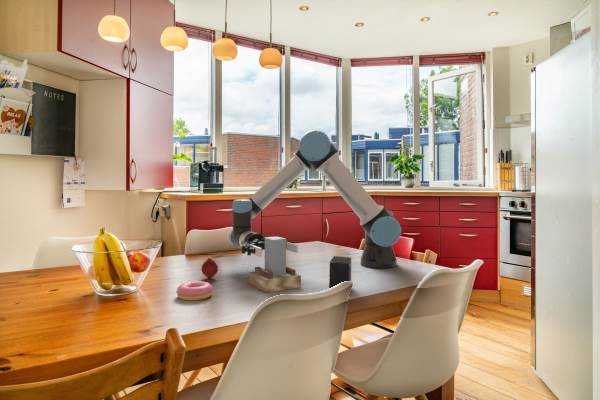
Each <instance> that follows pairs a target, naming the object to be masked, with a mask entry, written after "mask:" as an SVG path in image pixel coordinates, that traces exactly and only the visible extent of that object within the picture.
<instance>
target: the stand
mask: <svg viewBox="0 0 600 400" xmlns="http://www.w3.org/2000/svg"><path fill="white" fill-rule="evenodd" d="M296 271H297V270H296V269H294V268H292V267H288V266H286V274H282V275H275V276H273V273H272V272H270V271H267V270H265V268H262V267H260V266H254V271H250V272H249V277H248V278H249V280H248V281H249V285H251V286H253V287H255V288H257V289H259V290H260V291H263V292H264V293H273V292H279V291H285V290H292V289H298V288H301V287H302V275H301V274H298V273H297V272H296Z"/></svg>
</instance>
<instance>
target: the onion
mask: <svg viewBox="0 0 600 400" xmlns="http://www.w3.org/2000/svg"><path fill="white" fill-rule="evenodd" d="M200 270H201V273H202V274H203V276H205V277H206V279H212V278H213V277H214V276H216V274H217V272H218V271H219V267H218V264H217V262H216V261H215V260H214V259H212V258H211V257H210V256H208V257H207V259H206V260H205V261H204V262H203V264H202V265H201V269H200Z"/></svg>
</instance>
